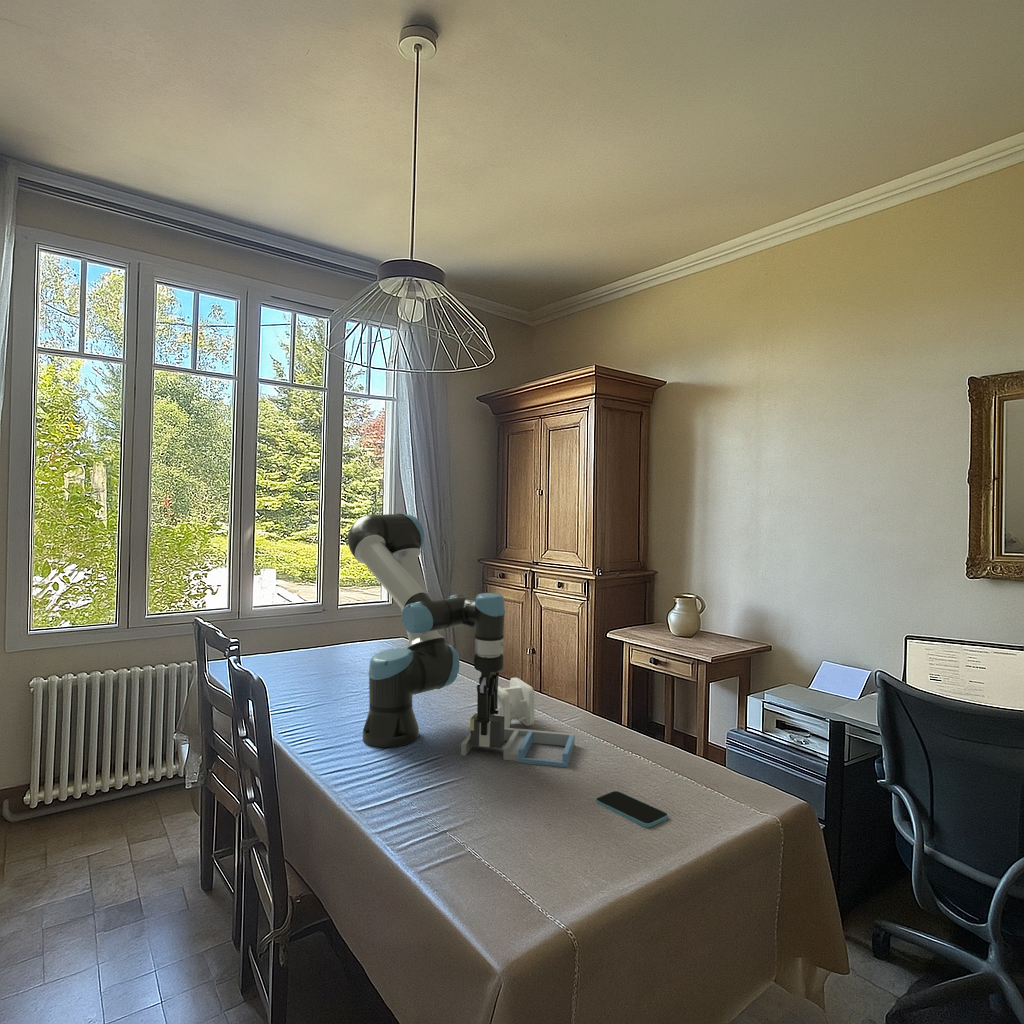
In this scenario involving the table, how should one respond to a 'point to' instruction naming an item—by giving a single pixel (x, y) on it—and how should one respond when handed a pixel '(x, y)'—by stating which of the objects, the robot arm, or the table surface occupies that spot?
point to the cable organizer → (516, 703)
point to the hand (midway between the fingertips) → (486, 742)
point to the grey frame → (522, 742)
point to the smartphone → (632, 809)
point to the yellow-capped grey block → (495, 731)
